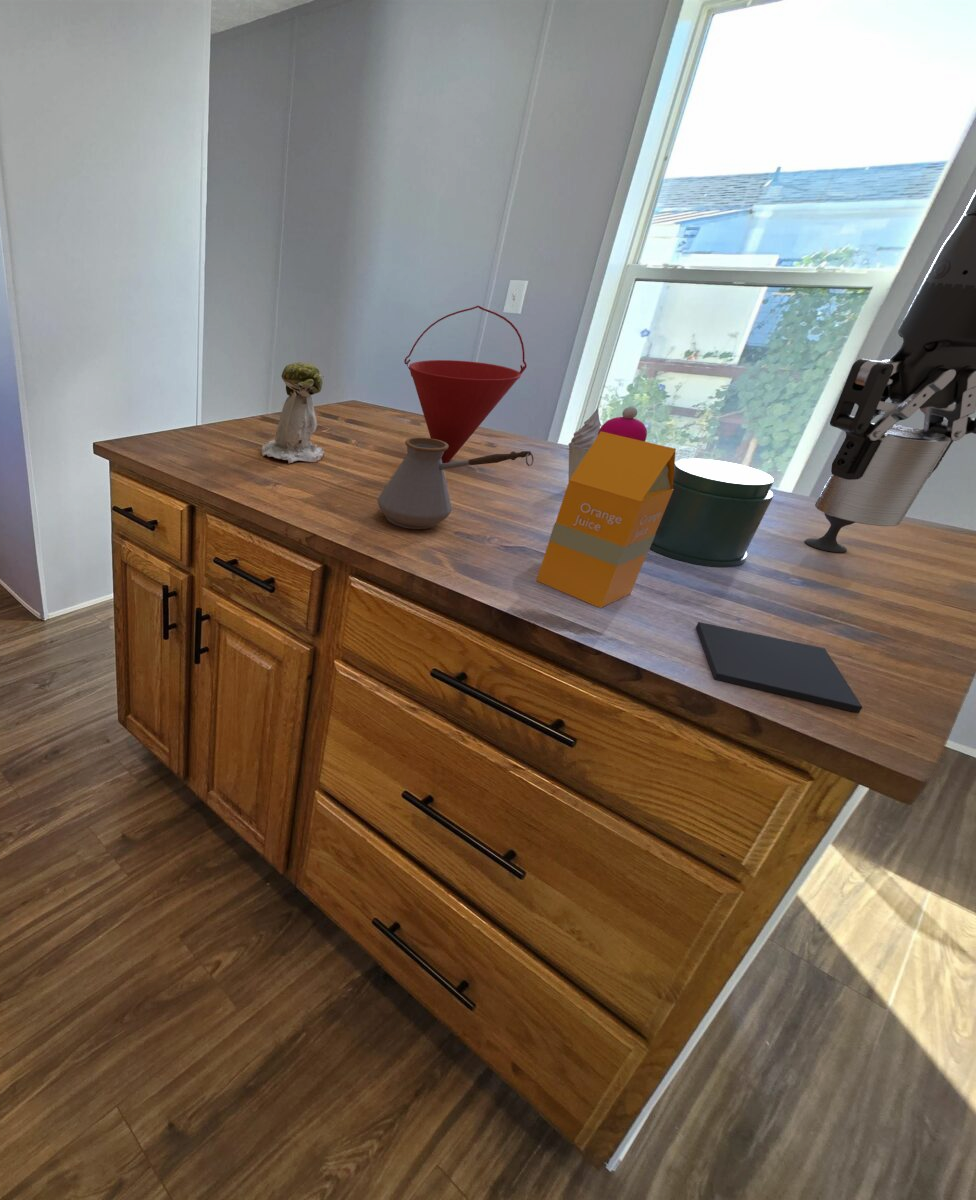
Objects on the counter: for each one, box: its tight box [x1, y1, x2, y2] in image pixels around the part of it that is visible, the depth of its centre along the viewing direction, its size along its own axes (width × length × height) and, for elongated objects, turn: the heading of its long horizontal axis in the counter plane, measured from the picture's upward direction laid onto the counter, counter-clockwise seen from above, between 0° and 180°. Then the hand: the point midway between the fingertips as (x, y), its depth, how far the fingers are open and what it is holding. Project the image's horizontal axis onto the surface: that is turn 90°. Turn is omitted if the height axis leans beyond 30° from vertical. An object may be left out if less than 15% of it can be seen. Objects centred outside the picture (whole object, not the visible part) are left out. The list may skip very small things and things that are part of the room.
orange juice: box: [536, 432, 677, 609], centre depth 83 cm, size 8×9×20 cm
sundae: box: [804, 512, 856, 554], centre depth 97 cm, size 7×7×15 cm
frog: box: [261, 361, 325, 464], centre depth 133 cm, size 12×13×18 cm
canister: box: [649, 458, 775, 568], centre depth 97 cm, size 14×14×12 cm
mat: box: [695, 621, 863, 714], centre depth 72 cm, size 12×12×1 cm
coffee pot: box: [377, 437, 535, 530], centre depth 100 cm, size 21×12×15 cm, turn 44°
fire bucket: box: [403, 305, 528, 463], centre depth 124 cm, size 22×20×30 cm
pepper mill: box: [597, 406, 648, 442], centre depth 98 cm, size 7×7×20 cm
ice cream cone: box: [567, 407, 602, 484], centre depth 118 cm, size 5×5×15 cm
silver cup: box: [814, 422, 951, 527], centre depth 61 cm, size 6×6×8 cm
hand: (878, 476), depth 61 cm, fingers closed on silver cup, 6 cm apart
